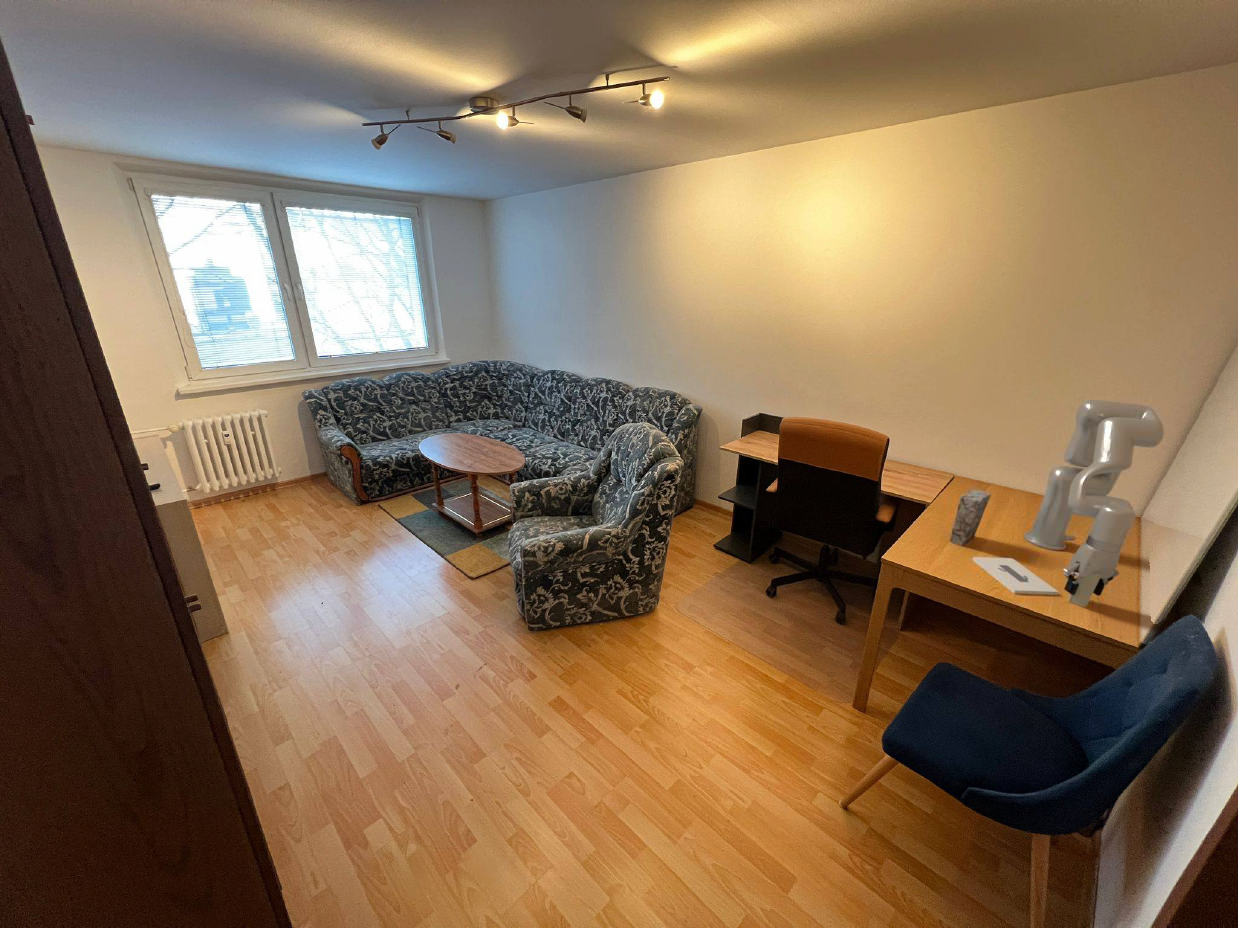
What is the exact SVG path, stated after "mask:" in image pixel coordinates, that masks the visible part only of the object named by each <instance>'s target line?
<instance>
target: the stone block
mask: <svg viewBox="0 0 1238 928" xmlns="http://www.w3.org/2000/svg"><path fill="white" fill-rule="evenodd" d="M990 498H991V493H988V492H986V491H982V490H980V489H977V488H973V489H972V490H970V491H968V492H967V493H963V494H962V495H961V496H960V499H959V503H958V506H957V511H956V515H955V519H954V524H953V527H952V530H951V534H950V538H949V541H950V542H951V543H953V544H956V545H958V546H961V547H965V546H967V544H969V543H970V542H971V541H972V540H973V539H975V536H976V533H977V531H978V528H979V526H980V524H981V521H982V518H983V516H984V513H985V510H986V508H987V506H988V502H989V501H990V500H991V499H990Z"/></svg>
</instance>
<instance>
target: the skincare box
mask: <svg viewBox="0 0 1238 928" xmlns="http://www.w3.org/2000/svg"><path fill="white" fill-rule="evenodd" d="M1101 575H1102V573H1091V575H1090V576H1089V577H1088V578H1083V579H1082V580H1081V581H1079V582H1078V583H1077V584H1079V586H1078V588H1077V591H1076V593H1075V595H1071V594H1070V593H1069V595H1068V600H1067V602H1069V603H1071V604H1074V605H1077V606H1080V607H1082V608H1086V607H1087V606H1088V604H1089V602H1090V599H1091V598H1092V595H1093V594H1094V593H1093V592H1094V590H1095V588H1096V586H1097V584H1098V582H1099V579H1100V577H1101Z"/></svg>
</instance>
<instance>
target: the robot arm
mask: <svg viewBox="0 0 1238 928" xmlns="http://www.w3.org/2000/svg"><path fill="white" fill-rule="evenodd" d="M1075 421H1076V422H1075V424H1076V425H1075V428H1074V431H1073V433H1072V436H1071V438H1070V440H1069V442H1068V445H1067V447H1066V449H1065V451H1064V454H1063V459H1064V462H1065V463H1066V464H1068V465H1058V466H1055V467H1053V468H1052V469H1051V470H1050V471H1049V472H1048V473H1049V474H1048V479H1047V486H1046V489H1045V494H1044V497H1043V498H1042V501H1041V504H1040V506H1039V510H1038V512H1037V515H1036V518H1035V520H1034V523H1033V525H1032V528H1031V530H1030V531H1026V532H1025V533H1024V534H1023V538H1024V539H1025V541H1027V542H1029V543H1030V544H1032V545H1035V546H1037V547H1040V548H1044V549H1048V550H1053V551H1054V550H1055V551H1063V550H1065V549H1066V547H1067V544H1066V541H1075V540H1076V536H1075V535H1069V534H1068V535H1067V530H1068V528H1069V525H1070V522H1071V520H1072V518H1073V516H1074V515H1076V516H1080V517H1084V518H1090V519H1091V518H1092V519H1094V522H1093V523H1092V526H1091V529H1090V530H1089V532H1088V536H1087V538H1086V540H1085V543H1082V544H1081V545H1080V546H1079V548H1078V549H1077V550H1076V552H1075V553H1074V555H1073V557H1072V558H1071V560H1070V562H1069V564H1068V566H1067V567H1065V568H1063V570H1062V572H1063V573H1064V576H1065V578H1066V579H1067V581H1066V584H1064V585H1065V586H1064V588H1063V589H1064V591H1066V592H1067V593H1068V594H1069V595H1070V594H1071V595H1075V593H1076V591H1077V588H1078V586H1079V584H1077V583H1078V582H1079V581H1081V580H1082V579H1083V578H1088V577H1089V576H1090V575H1091V573H1102V575H1101V577H1100V579H1099V582H1098V584H1097V586H1096V588H1095V590H1094V592H1093V594H1094V595H1095V596H1101V595H1102V593H1103V590H1105V589H1104V588H1105V586H1107V585H1108V584H1109V582H1110V581H1111V582H1112V580H1114V578H1115V577H1117V576H1119V575H1120V572H1119V571H1118V570H1117V566H1118V564H1119V560H1120V557H1121V556H1120V555H1121V550H1122V547H1123V545H1124V544H1125V540H1126V538H1127V537H1128V534H1129V532H1130V530H1131V528H1132V526H1133V523H1134V522H1135V518H1136V515H1137V514H1136V512H1135V511H1134V510H1133V505H1132V504H1131V502H1130V501H1129V500H1126V499H1123V498H1119V497H1114V496H1108V495H1109V494H1110V493H1111V491H1112V490H1113V488H1114V487H1115V485H1116V483H1117V481H1118V479H1119V478H1120V475H1121V474H1122V472H1123V471H1126V470H1128V469H1130V468H1131V467H1132V465H1133V455H1134V448H1135V447H1140V448H1155V447H1157V446H1158V445H1160V444H1161V443H1162V441H1163V439H1164V435H1165V430H1164V425H1163V423H1162V419H1160V417H1159V415H1158V414H1157V412H1156V411H1155V410H1154V408H1153V407H1150V406H1148V405H1145V404H1136V403H1126V402H1119V401H1118V402H1117V401H1108V400H1093V399H1091V400H1085V401H1083V402H1082V403H1081V404H1080V405H1078V407H1077V409H1076V413H1075ZM1070 465H1071V466H1070ZM1075 576H1077V577H1075Z"/></svg>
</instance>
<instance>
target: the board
mask: <svg viewBox="0 0 1238 928" xmlns="http://www.w3.org/2000/svg"><path fill="white" fill-rule="evenodd" d="M972 561H973V562H974V563H975V564H977V565H978V566H979V567H980V568H982V569H983V570H984V571H985V572H986V573H988V574H989V575H990V576H992V577H993V578H994V579H995V580H997V581H998V582H999V583H1000V584H1001V585H1003V586H1004V587H1005V588H1006V589H1008V590H1009V591H1010V592H1012V594H1014V595H1015V594H1016V595H1017V594H1019V595H1020V594H1021V595H1022V594H1023V595H1025V594H1026V595H1048V596H1050V595H1053V596H1058V594H1059V591H1058V590H1057V589H1056V588H1054V587H1053V586H1051V585H1050V584H1049V583H1047V582H1046V581H1045V580H1043V579H1042V578H1040V577H1039V576H1037V575H1036V574H1035V573H1033V572H1032V571H1030V570H1029V569H1027V568H1026V567H1025V566H1024V565H1022V564H1021V563H1020V562H1018V561H1017V560H1016V559H1014V558H1010V557H987V556H986V557H983V556H982V557H981V556H978V557H977V556H973V557H972Z"/></svg>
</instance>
